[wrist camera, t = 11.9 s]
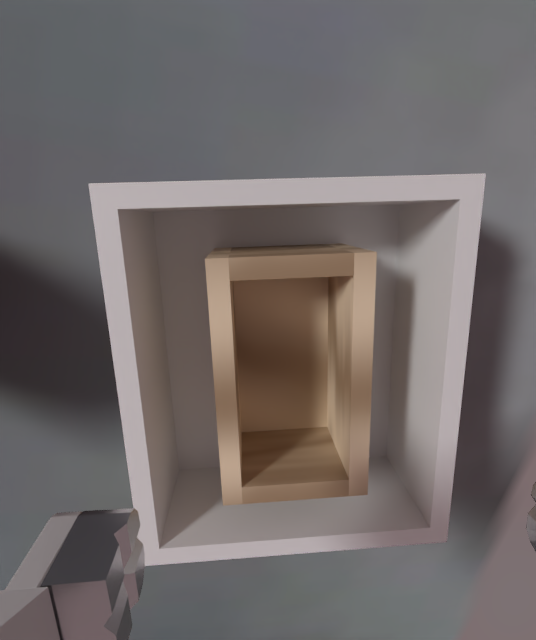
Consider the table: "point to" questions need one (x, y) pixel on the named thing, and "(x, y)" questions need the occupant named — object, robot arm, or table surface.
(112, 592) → the robot arm
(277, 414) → the birch crate
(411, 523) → the grey crate
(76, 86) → the table surface
